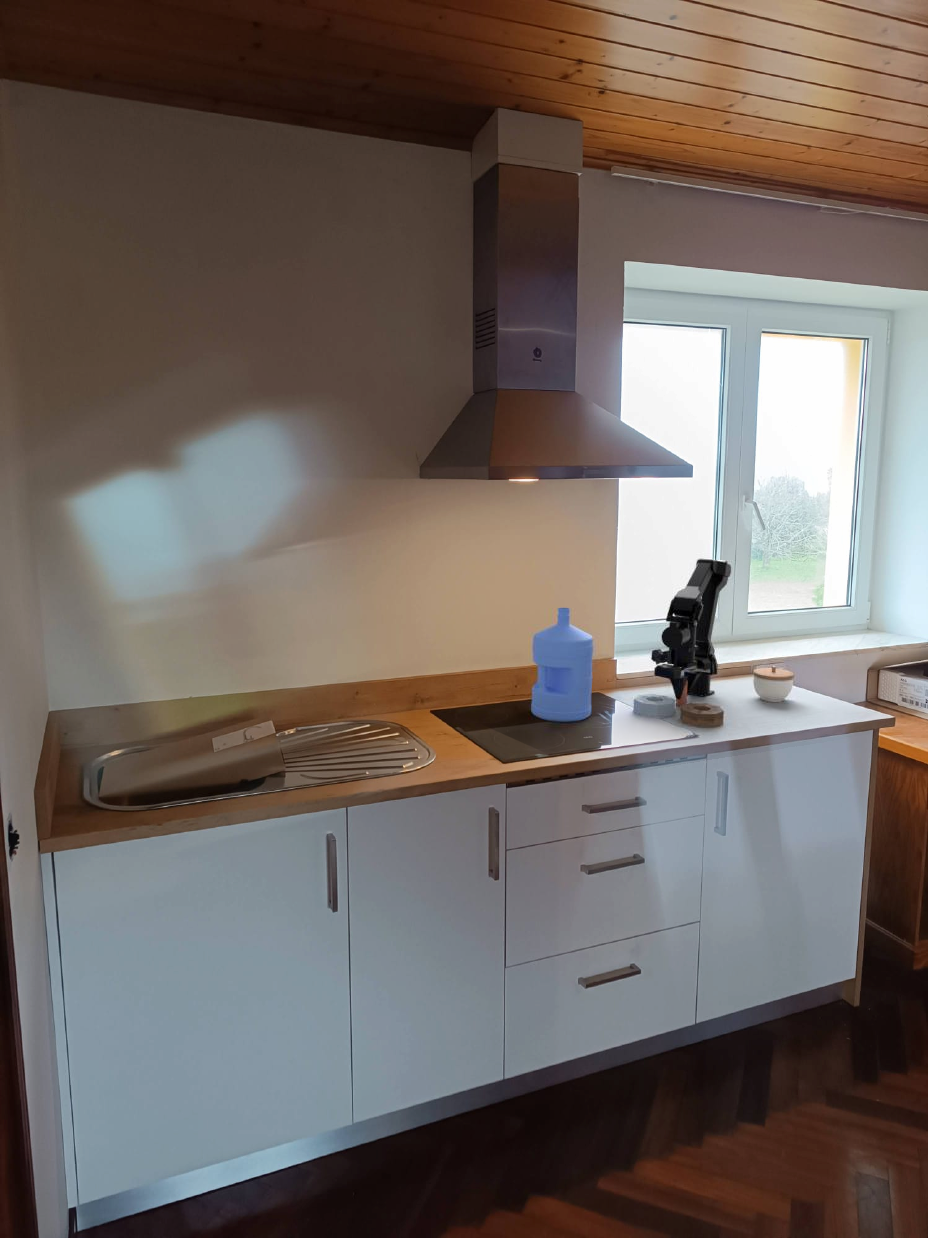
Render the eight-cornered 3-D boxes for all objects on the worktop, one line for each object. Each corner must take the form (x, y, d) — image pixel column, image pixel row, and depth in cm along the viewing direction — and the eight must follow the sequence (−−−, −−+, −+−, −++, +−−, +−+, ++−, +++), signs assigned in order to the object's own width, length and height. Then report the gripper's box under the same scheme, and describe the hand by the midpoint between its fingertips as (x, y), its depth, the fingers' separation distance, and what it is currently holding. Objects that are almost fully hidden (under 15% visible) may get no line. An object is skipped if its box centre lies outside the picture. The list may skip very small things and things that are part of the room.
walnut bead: (695, 713, 225) (695, 700, 224) (729, 722, 218) (730, 708, 217) (673, 721, 218) (673, 707, 218) (707, 729, 211) (708, 716, 210)
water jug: (564, 702, 235) (567, 602, 230) (603, 716, 222) (607, 610, 217) (519, 711, 226) (521, 606, 221) (556, 726, 213) (559, 615, 208)
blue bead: (640, 705, 233) (640, 692, 232) (677, 709, 228) (677, 697, 228) (630, 714, 224) (631, 701, 223) (668, 719, 220) (669, 706, 219)
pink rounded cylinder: (679, 703, 235) (680, 678, 233) (688, 705, 233) (690, 680, 231) (673, 705, 233) (674, 680, 232) (682, 707, 231) (683, 682, 229)
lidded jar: (752, 702, 236) (754, 669, 235) (751, 692, 246) (753, 661, 245) (793, 705, 233) (796, 672, 232) (790, 695, 243) (793, 663, 242)
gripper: (678, 633, 242) (675, 686, 244) (638, 641, 229) (636, 698, 232) (713, 639, 234) (710, 694, 236) (674, 648, 221) (671, 706, 224)
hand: (681, 698), depth 232 cm, fingers closed on pink rounded cylinder, 3 cm apart
